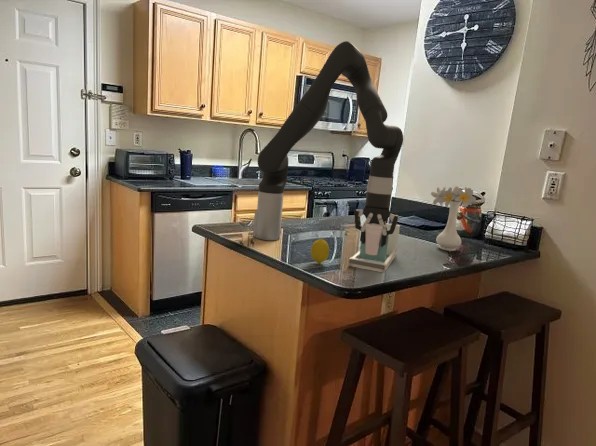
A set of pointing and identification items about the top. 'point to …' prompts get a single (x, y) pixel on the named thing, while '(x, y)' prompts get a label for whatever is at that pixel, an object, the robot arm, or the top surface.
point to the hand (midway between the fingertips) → (372, 244)
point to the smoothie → (372, 238)
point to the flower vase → (452, 214)
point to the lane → (391, 251)
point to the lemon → (320, 251)
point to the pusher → (380, 255)
